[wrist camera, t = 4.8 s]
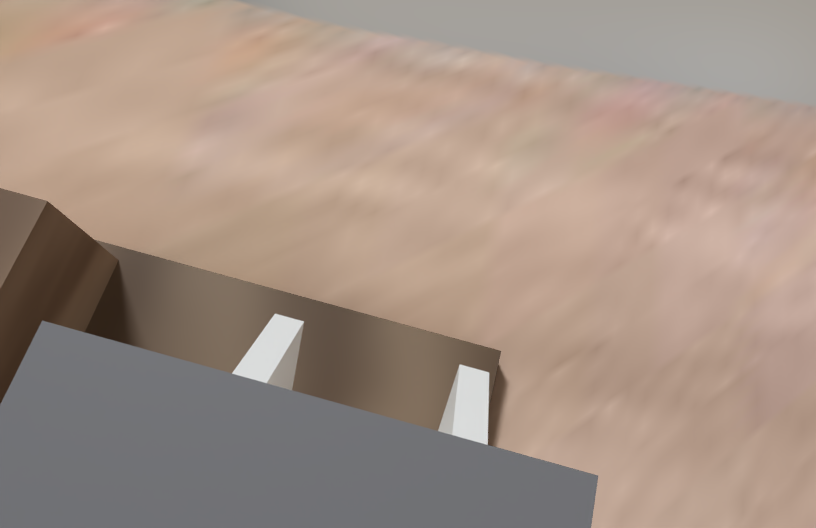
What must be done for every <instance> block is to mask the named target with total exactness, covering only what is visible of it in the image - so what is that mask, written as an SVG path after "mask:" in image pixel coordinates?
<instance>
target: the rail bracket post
mask: <svg viewBox="0 0 816 528" xmlns="http://www.w3.org/2000/svg"><path fill="white" fill-rule="evenodd" d="M597 480H598V476H597V475H594V474H590V473H587V472H583V471H579V470H576V469H572V468H569V467H565V466H561V465H558V464H554V463H551V462H547V461H544V460H540V459H536V458H533V457H529V456H526V455H522V454H519V453H515V452H511V451H508V450H504V449H501V448H497V447H493V446H490V445H486V444H483V443H479V442H476V441H472V440H468V439H465V438H461V437H458V436H454V435H450V434H447V433H443V432H440V431H436V430H433V429H429V428H425V427H422V426H418V425H415V424H411V423H407V422H404V421H400V420H397V419H393V418H390V417H386V416H382V415H379V414H375V413H372V412H368V411H364V410H361V409H357V408H354V407H350V406H347V405H343V404H339V403H336V402H332V401H329V400H325V399H321V398H318V397H314V396H311V395H307V394H304V393H300V392H296V391H293V390H289V389H286V388H282V387H278V386H275V385H271V384H268V383H264V382H261V381H257V380H253V379H250V378H246V377H243V376H239V375H235V374H232V373H228V372H225V371H221V370H218V369H214V368H210V367H207V366H203V365H200V364H196V363H193V362H189V361H185V360H182V359H178V358H175V357H171V356H167V355H164V354H160V353H157V352H153V351H150V350H146V349H142V348H139V347H135V346H132V345H128V344H124V343H121V342H117V341H114V340H110V339H107V338H103V337H99V336H96V335H92V334H89V333H85V332H81V331H78V330H74V329H71V328H67V327H64V326H60V325H56V324H53V323H49V322H46V321H42V322H41V324H40V326H39V328H38V330H37V332H36V334H35V336H34V338H33V340H32V342H31V344H30V346H29V348H28V350H27V352H26V354H25V356H24V358H23V360H22V362H21V364H20V366H19V368H18V370H17V372H16V374H15V376H14V378H13V380H12V382H11V384H10V386H9V388H8V390H7V392H6V394H5V396H4V398H3V400H2V402H1V404H0V528H591V523H592V516H593V509H594V502H595V495H596V488H597Z"/></svg>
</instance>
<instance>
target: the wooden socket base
mask: <svg viewBox="0 0 816 528" xmlns="http://www.w3.org/2000/svg"><path fill="white" fill-rule="evenodd" d="M274 314H278V315H282V316H286V317H289V318H293V319H297V320H300V321H304V325H303V331H302V336H301V342H300V348H299V353H298V359H297V365H296V371H295V376H294V382H293V388H292V390H293V391H296V392H300V393H304V394H307V395H311V396H314V397H318V398H321V399H325V400H329V401H332V402H336V403H339V404H343V405H347V406H350V407H354V408H357V409H361V410H364V411H368V412H372V413H375V414H379V415H382V416H386V417H390V418H393V419H397V420H400V421H404V422H407V423H411V424H415V425H418V426H422V427H425V428H429V429H433V430H436V431H438V429H439V426H440V423H441V420H442V417H443V414H444V411H445V408H446V405H447V402H448V398H449V395H450V392H451V389H452V386H453V383H454V380H455V377H456V374H457V371H458V368H459V365H464V366H468V367H471V368H475V369H478V370H482V371H486V372H489V406H490V401H491V396H492V391H493V387H494V382H495V377H496V373H497V368H498V363H499V358H500V354H501V351H499V350H495V349H492V348H488V347H484V346H481V345H477V344H473V343H470V342H466V341H462V340H459V339H455V338H451V337H448V336H444V335H440V334H437V333H433V332H429V331H426V330H422V329H419V328H415V327H411V326H408V325H404V324H400V323H397V322H393V321H389V320H386V319H382V318H378V317H375V316H371V315H367V314H364V313H360V312H356V311H353V310H349V309H345V308H342V307H338V306H334V305H331V304H327V303H323V302H320V301H316V300H312V299H309V298H305V297H302V296H298V295H294V294H291V293H287V292H283V291H280V290H276V289H272V288H269V287H265V286H261V285H258V284H254V283H250V282H247V281H243V280H239V279H236V278H232V277H228V276H225V275H221V274H217V273H214V272H210V271H206V270H203V269H199V268H196V267H192V266H188V265H185V264H181V263H177V262H174V261H170V260H166V259H163V258H159V257H155V256H152V255H148V254H144V253H141V252H137V251H133V250H130V249H126V248H122V247H119V246H115V245H111V244H108V243H104V242H100V241H97V240H94V239H93V238H91V237H90V236H89V235H88V234H86V233H85V232H84V231H83V230H82V229H80V228H79V227H78V226H77V225H76V224H74V223H73V222H72V221H71V220H70V219H68V218H67V217H66V216H65V215H64V214H62V213H61V212H60V211H59V210H58V209H56V208H55V207H54V206H53V205H51V204H50V203H49V202H48V201H45V200H41V199H38V198H34V197H30V196H27V195H23V194H19V193H16V192H12V191H8V190H5V189H1V188H0V404H1V402H2V400H3V398H4V396H5V394H6V392H7V390H8V388H9V386H10V384H11V382H12V380H13V378H14V376H15V374H16V372H17V370H18V368H19V366H20V364H21V362H22V360H23V358H24V356H25V354H26V352H27V350H28V348H29V346H30V344H31V342H32V340H33V338H34V336H35V334H36V332H37V330H38V328H39V326H40V324H41V322H42V321H46V322H49V323H53V324H56V325H60V326H64V327H67V328H71V329H74V330H78V331H81V332H85V333H89V334H92V335H96V336H99V337H103V338H107V339H110V340H114V341H117V342H121V343H124V344H128V345H132V346H135V347H139V348H142V349H146V350H150V351H153V352H157V353H160V354H164V355H167V356H171V357H175V358H178V359H182V360H185V361H189V362H193V363H196V364H200V365H203V366H207V367H210V368H214V369H218V370H221V371H225V372H228V373H233V371H234V370H235V369H236V367H237V366H238V364H239V363H240V362H241V360H242V359H243V357H244V356H245V355H246V353H247V352H248V350H249V349H250V348H251V346H252V345H253V344H254V342H255V341H256V339H257V338H258V337H259V335H260V334H261V332H262V331H263V330H264V328H265V327H266V325H267V324H268V323H269V321H270V320H271V318H272V317H273V316H274ZM488 410H489V407H488Z"/></svg>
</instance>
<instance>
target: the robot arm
mask: <svg viewBox="0 0 816 528" xmlns="http://www.w3.org/2000/svg"><path fill="white" fill-rule="evenodd" d="M303 325H304V321H300V320H297V319H293V318H289V317H286V316H282V315H278V314H274V316H273V317H272V318H271V320H270V321H269V323H268V324H267V325H266V327H265V328H264V330H263V331H262V332H261V334H260V335H259V337H258V338H257V339H256V341H255V342H254V344H253V345H252V346H251V348H250V349H249V350H248V352H247V353H246V355H245V356H244V357H243V359H242V360H241V362H240V363H239V364H238V366H237V367H236V369H235V370H234V371H233V373H232V374H235V375H239V376H243V377H246V378H250V379H253V380H257V381H261V382H264V383H268V384H271V385H275V386H278V387H282V388H286V389H289V390H292V388H293V382H294V376H295V371H296V365H297V359H298V353H299V348H300V342H301V336H302V331H303ZM488 407H489V372H486V371H482V370H478V369H475V368H471V367H468V366H464V365H459V368H458V371H457V374H456V377H455V380H454V383H453V386H452V389H451V392H450V395H449V398H448V402H447V405H446V408H445V411H444V414H443V417H442V420H441V423H440V426H439V429H438V431H440V432H443V433H447V434H450V435H454V436H458V437H461V438H465V439H468V440H472V441H476V442H479V443H483V444H486V445H488Z"/></svg>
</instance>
